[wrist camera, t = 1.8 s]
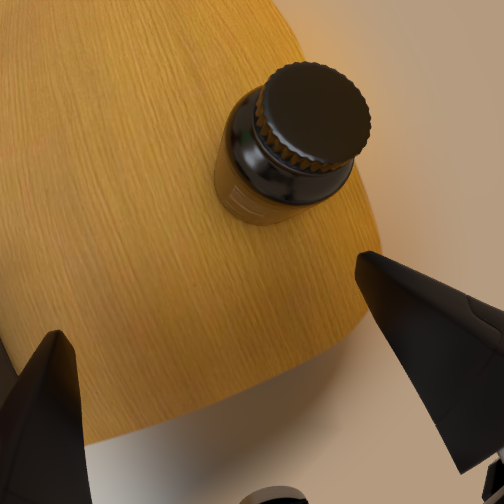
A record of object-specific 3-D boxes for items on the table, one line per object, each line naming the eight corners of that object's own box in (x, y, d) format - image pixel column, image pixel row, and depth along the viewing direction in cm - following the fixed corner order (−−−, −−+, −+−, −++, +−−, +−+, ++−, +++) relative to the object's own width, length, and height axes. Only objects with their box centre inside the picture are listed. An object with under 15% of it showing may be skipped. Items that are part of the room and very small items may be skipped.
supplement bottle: (320, 198, 24) (418, 154, 12) (243, 243, 23) (295, 229, 11) (274, 122, 24) (335, 29, 12) (195, 161, 23) (200, 73, 11)
